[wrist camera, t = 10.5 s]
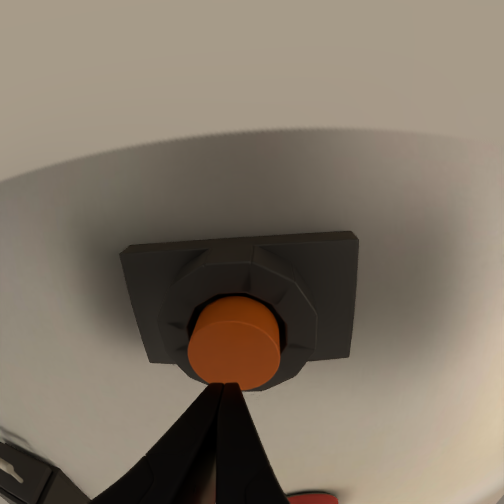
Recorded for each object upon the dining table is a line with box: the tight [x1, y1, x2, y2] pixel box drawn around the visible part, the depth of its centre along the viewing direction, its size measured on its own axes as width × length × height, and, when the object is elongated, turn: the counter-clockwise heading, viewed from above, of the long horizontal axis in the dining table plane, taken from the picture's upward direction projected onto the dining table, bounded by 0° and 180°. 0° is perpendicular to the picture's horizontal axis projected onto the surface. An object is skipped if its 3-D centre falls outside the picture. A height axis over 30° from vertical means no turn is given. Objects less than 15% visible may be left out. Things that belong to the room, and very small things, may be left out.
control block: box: [120, 231, 359, 392], centre depth 13 cm, size 10×6×3 cm, turn 95°
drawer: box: [0, 442, 52, 504], centre depth 21 cm, size 15×10×7 cm
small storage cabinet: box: [0, 443, 91, 504], centre depth 23 cm, size 13×12×9 cm
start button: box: [188, 296, 280, 390], centre depth 11 cm, size 3×3×2 cm
